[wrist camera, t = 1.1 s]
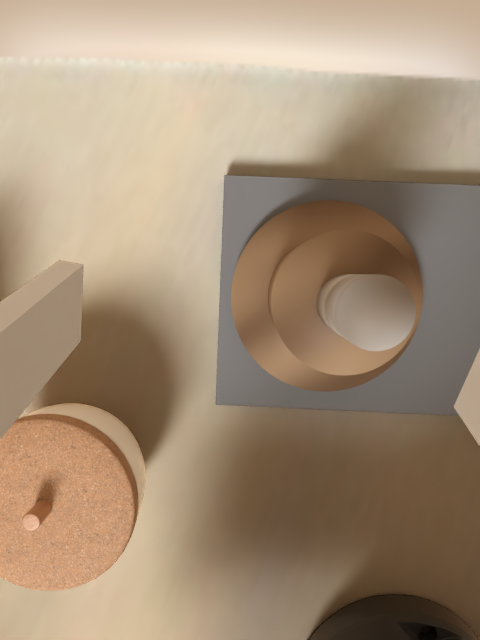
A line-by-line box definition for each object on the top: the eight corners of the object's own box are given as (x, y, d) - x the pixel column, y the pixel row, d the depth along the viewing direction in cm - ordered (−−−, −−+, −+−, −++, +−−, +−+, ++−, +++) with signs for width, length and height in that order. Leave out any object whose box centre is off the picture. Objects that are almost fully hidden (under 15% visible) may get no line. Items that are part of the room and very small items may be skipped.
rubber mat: (712, 198, 32) (730, 195, 30) (679, 421, 33) (696, 426, 32) (225, 178, 32) (224, 174, 31) (216, 399, 34) (215, 404, 32)
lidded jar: (176, 505, 35) (149, 590, 25) (41, 535, 35) (-33, 630, 26) (139, 370, 34) (98, 408, 24) (2, 403, 34) (-91, 452, 25)
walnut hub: (452, 327, 32) (591, 363, 19) (293, 422, 32) (323, 518, 20) (357, 164, 31) (436, 86, 18) (195, 267, 31) (160, 263, 19)
